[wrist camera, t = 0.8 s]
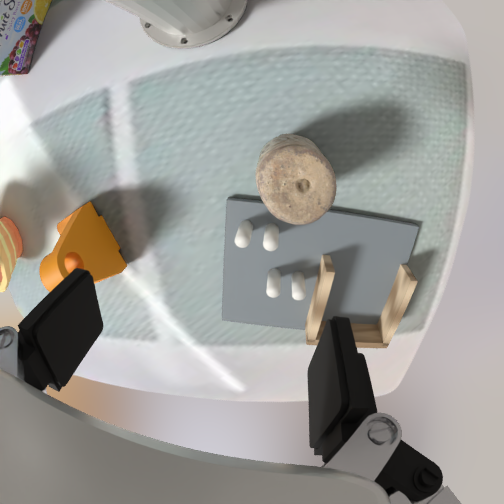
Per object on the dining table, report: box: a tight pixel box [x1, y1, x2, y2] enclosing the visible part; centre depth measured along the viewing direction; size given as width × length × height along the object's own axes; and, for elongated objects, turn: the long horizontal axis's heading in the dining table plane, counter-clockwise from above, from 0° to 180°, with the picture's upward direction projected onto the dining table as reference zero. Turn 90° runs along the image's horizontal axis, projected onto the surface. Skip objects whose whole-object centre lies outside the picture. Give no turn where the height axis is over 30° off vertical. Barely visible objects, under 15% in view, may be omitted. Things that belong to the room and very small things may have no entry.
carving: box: [256, 134, 336, 225], centre depth 25 cm, size 6×8×12 cm
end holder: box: [305, 255, 418, 348], centre depth 35 cm, size 12×12×4 cm
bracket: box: [40, 201, 127, 292], centre depth 33 cm, size 11×7×12 cm, turn 23°
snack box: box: [0, 0, 52, 76], centre depth 14 cm, size 21×6×15 cm, turn 162°
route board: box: [222, 197, 419, 330], centre depth 35 cm, size 18×24×5 cm
